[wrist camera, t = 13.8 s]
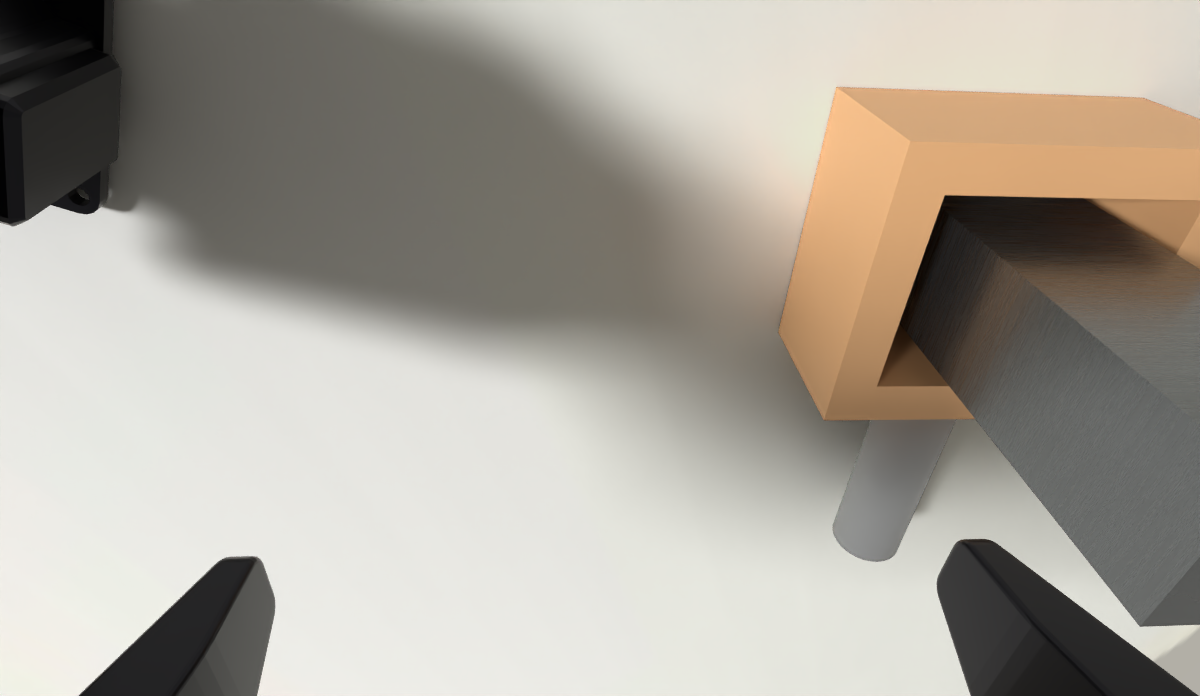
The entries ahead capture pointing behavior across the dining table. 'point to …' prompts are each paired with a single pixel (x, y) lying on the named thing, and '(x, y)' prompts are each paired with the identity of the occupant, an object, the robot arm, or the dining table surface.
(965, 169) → the bracket head
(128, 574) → the dining table surface
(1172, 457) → the dark grey long block
